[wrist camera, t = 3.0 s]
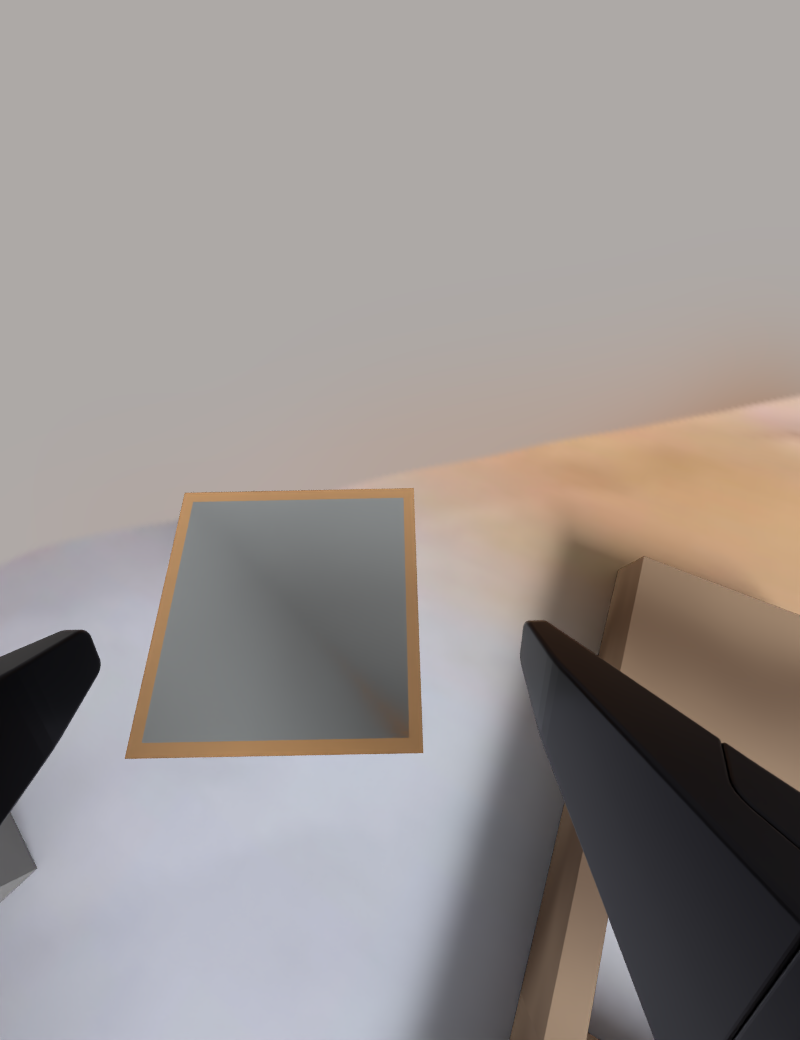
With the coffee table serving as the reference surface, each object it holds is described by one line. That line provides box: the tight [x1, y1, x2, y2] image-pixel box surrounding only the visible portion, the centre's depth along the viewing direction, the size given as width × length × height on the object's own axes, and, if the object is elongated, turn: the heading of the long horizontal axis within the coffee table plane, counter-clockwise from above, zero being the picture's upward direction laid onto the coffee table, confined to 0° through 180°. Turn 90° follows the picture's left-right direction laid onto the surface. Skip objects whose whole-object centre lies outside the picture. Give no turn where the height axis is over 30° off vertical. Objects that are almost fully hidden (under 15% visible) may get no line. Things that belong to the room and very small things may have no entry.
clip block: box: [125, 488, 423, 759], centre depth 11 cm, size 4×4×10 cm
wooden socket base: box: [510, 556, 800, 1040], centre depth 12 cm, size 22×8×2 cm, turn 156°
